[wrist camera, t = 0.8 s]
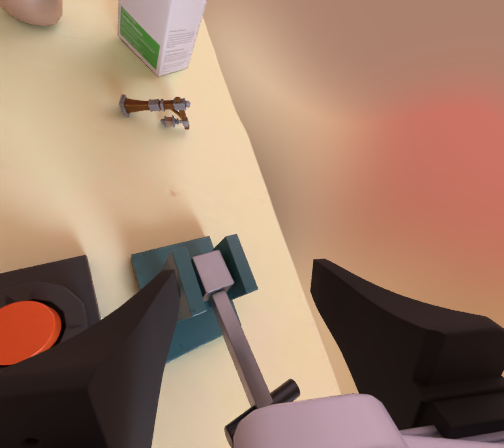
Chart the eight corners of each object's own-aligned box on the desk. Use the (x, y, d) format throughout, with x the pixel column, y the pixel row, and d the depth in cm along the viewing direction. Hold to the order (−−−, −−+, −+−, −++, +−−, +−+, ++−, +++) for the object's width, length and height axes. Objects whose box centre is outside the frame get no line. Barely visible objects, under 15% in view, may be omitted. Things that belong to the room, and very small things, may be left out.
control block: (112, 374, 19) (111, 378, 17) (-32, 441, 15) (-61, 460, 13) (87, 258, 22) (83, 248, 19) (-44, 287, 17) (-71, 279, 15)
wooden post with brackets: (195, 132, 32) (188, 103, 28) (133, 133, 32) (117, 103, 28) (196, 122, 33) (189, 92, 29) (136, 123, 32) (120, 92, 28)
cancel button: (65, 346, 17) (59, 347, 15) (-6, 373, 15) (-22, 377, 13) (57, 297, 18) (50, 292, 16) (-12, 316, 16) (-28, 313, 14)
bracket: (236, 326, 25) (289, 319, 17) (158, 364, 21) (181, 379, 13) (206, 239, 28) (240, 198, 20) (130, 258, 23) (135, 215, 15)
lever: (289, 396, 17) (309, 396, 15) (226, 446, 14) (240, 453, 12) (226, 258, 21) (235, 244, 19) (168, 276, 18) (171, 262, 16)
